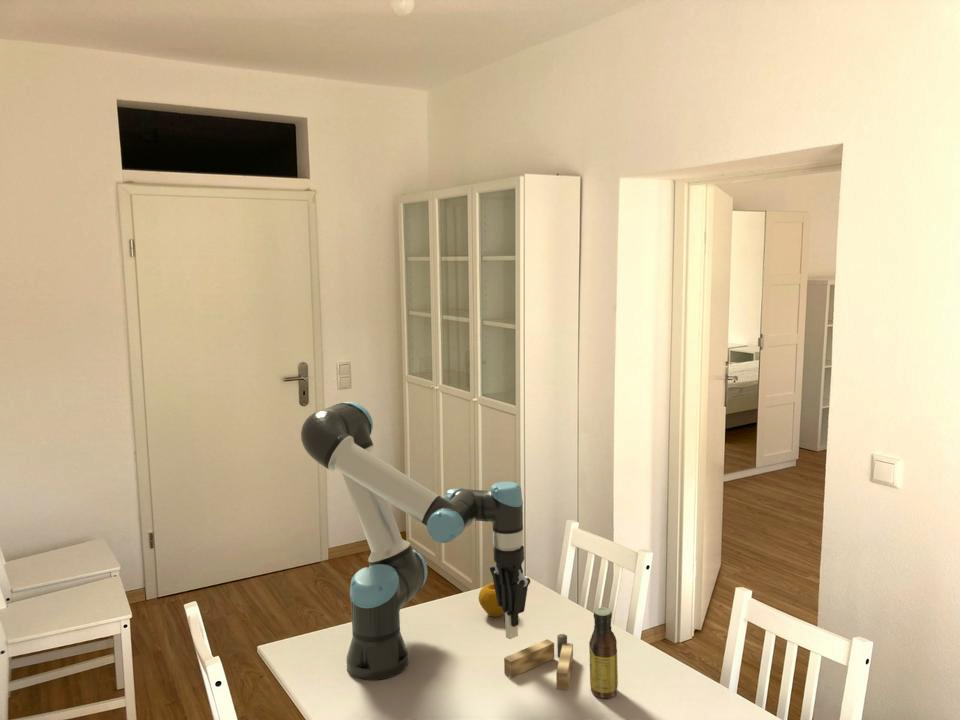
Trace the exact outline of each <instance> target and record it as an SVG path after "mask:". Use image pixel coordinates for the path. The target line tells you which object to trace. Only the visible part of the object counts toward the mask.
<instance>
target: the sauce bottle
mask: <svg viewBox="0 0 960 720" xmlns="http://www.w3.org/2000/svg"><path fill="white" fill-rule="evenodd" d="M612 615H613V614H612V610H611V609H610V608H607V607H604V606H602V607H601V606H600V607H596V608H594V610H593V619H594V625H593V631H592V634H591V637H590V640H589V643H588V644H589V645H588V646H589V681H590V682H589V685H590V691H591V693H592V694H594V696H595V697H598V698H602V699H609V698H613V697H614V696H616V695H617V693H618V685H619V684H618V683H619V681H618V680H619V679H618V677H619V674H618V671H619V670H618V668H619V667H618V649H617V648H618V647H617V646H618V645H617V642H618V641H617V638H616V635H615V633H614V631H613V630H612Z"/></svg>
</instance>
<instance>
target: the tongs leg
mask: <svg viewBox="0 0 960 720" xmlns="http://www.w3.org/2000/svg"><path fill="white" fill-rule="evenodd" d="M553 659H555V642H554V641H551V640H550V639H544V640H542V641H540V642H538V643H535V644H532V645H530V646H528V647H526V648H524V649H521V650H519V651H516V652H514V653H512V654H509V655H508V656H505V657H504V658H503V663H504V664H503V668H504V671H503V673H504V675H506V676H508V677H510V679H511V678H514V677H516V676H518V675H520V674H523V673H525V672H527V671H530V670H531V669H533V668H536V667H538V666H540V665H542V664H545V663H547V662H549V661H551V660H553Z"/></svg>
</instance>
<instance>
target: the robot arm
mask: <svg viewBox="0 0 960 720" xmlns="http://www.w3.org/2000/svg"><path fill="white" fill-rule="evenodd" d="M373 429H374V423H373V418H372V416H371V414H370V412H369V411H368V410H367V409H366V408H365V406H363V405H362V404H359V403H357V402H354V401H345V402H339V403H336V404H334V405H331V406H330V407H326V408H324V409H321V410H318V411H315V412H313V413H312V414H310V415H309V416H308V417H307V418H306V419H305V421H304V422H303V424H302V427H301V431H300V439H301V440H300V441H301V443H302V446H303V448H304V450H305V451H306V453H307V454H308V455H309V456H310V457H311V458H312V459H313V460H314V461H315V462H317V463H318V464H320V465H321V466H322V467H324V468H325V469H327V470H329V471H331V472H333V471H338V472H340V473H341V475H342V477H343V479H344V483H345V485H346V487H347V491H348V492H349V493H348V494H349V495H350V499H351V500H352V504H353V506H354V509H355V511H356V515H357V517H358V520H359V522H360V525H361V527H362V530H363V533H364V536H365V538H366V541H367V544H368V548H369V549H370V554H369V557H368V559H367V561H368V563H369V566H368V567H366V566H365V567H362V568H361V569H359V570H358V571H356V572H355V573H354V575H353V576H352V578H351V581H350V589H349V598H350V610H351V611H350V613H351V628H352V630H351V631H352V638H351V641H350V644H349V648H348V651H347V654H346V669H347V672H348V673H349V674H350V675H352V676H353V677H355V678H357V679H361V680H366V681H367V680H368V681H370V680H371V681H375V680H384V679H388V678H391V677H395V676H396V675H398V674H401V673H402V672H403V671H405V669H406V668H407V667H408V665H409V652H408V648H407V646H406V644H405V640H404V637H403V634H402V633H401V621H400V620H401V619H400V618H401V616H400V613H401V612H400V611H401V609H403V608H404V607H405V606H406V605H407V604H408V602H410V600H413V598H414V597H415V596H417V595H418V594H419V592H421V590H422V588H423V586H424V585H425V584H426V581H427V578H428V566H427V563H426V560H425V559H424V557H423V556H422V554H421V553H420V552H417V551H416V550H415V549H413V547H412V545H411V543H410V542H409V541H408V540H405V539H404V538H402V535H401V532H400V529H399V526H398V524H397V522H396V519H395V516H394V514H393V511H392V507H391V505H392V506H394V507H396V508H397V509H399V510H401V511H403V512H404V513H405V514H408V515H409V516H410V517H412V518H414V519H415V520H416V521H419V522H420V523H422V524H423V525H425V526H426V530H427V533H428V534H429V536H430V538H431V539H432V540H433V541H435V542H437V543H440V544H448V543H451V542H452V541H454V540H455V539H457V538H458V537H459V536H460V535H461V534H463V532H464V531H465V530H466V529H467V528H468V527H469V526H470V525H471V524H472V523H473V522H474V521H475V522H476V521H478V522H491V523H492V544H493V561H494V563H495V565H493V566H491V567H489V571H490V573H491V576H492V580H493V583H494V587H495V592H496V597H497V603H498V606H499V607H500V606H501V607H502V609H503V611H504V613H503V619H504V620H503V622H504V623H505V638H506V639H508V640H513V639H514V638H516V637H518V636H519V633H518V632H519V629H518V626H519V623H520V622H519V621H520V620H519V614H521V613H522V614H523V612H525V608H526V601H527V596H528V594H527V593H528V590H529V588H528V587H529V585H530V584H531V579H530V578H529V577H527V578H526V577H525V575H524V570H523V569H524V568H523V566H522V565H523V563H524V561H525V546H524V539H525V538H524V518H523V517H524V509H523V505H524V502H523V501H524V500H523V494H522V487H521V486H520V485H519V484H518V483H517V482H513V481H500V482H499V481H498V482H495V483H493V484H492V485H491V487H490V490H481V489H472V488H471V489H470V488H464V487H463V488H462V487H460V488H449V489H448V490H447V491H446V493H445V495H444V496H443V497H442V496H440V495H439V494H437V493H435V492H434V491H433V490H431V489H429V488H427V487H426V486H424V485H423V484H421V483H419V482H418V481H416V480H415V479H413V478H412V477H410V476H408V475H406V474H405V473H404V472H401V471H400V470H398V469H397V468H395V467H394V466H392V465H390V464H389V463H387V462H386V461H384V460H383V459H380V458H379V457H377V456H376V455H374V454H373V453H372V450H373V448H374V447H375V446H374V443H373V440H372V437H371V435H372V431H373ZM390 504H391V505H390ZM501 600H502V601H501Z"/></svg>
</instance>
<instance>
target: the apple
mask: <svg viewBox="0 0 960 720" xmlns="http://www.w3.org/2000/svg"><path fill="white" fill-rule="evenodd" d="M478 601H479V604H480V606H481V608H482V609H483V610H484V612H485V613H486V614H488V616H489V617H490V616H491V617H493V618H494V617H495V618H498V617H501V616H502V615H504V611H503V609H502V607H501V606H500V607H499V606H498V603H497V597H496V592H495V587H494V582H490V583H488V584H485V585H484V586H483V587H482V588H481V589H480V591H479V593H478ZM501 601H502V600H501Z"/></svg>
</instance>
